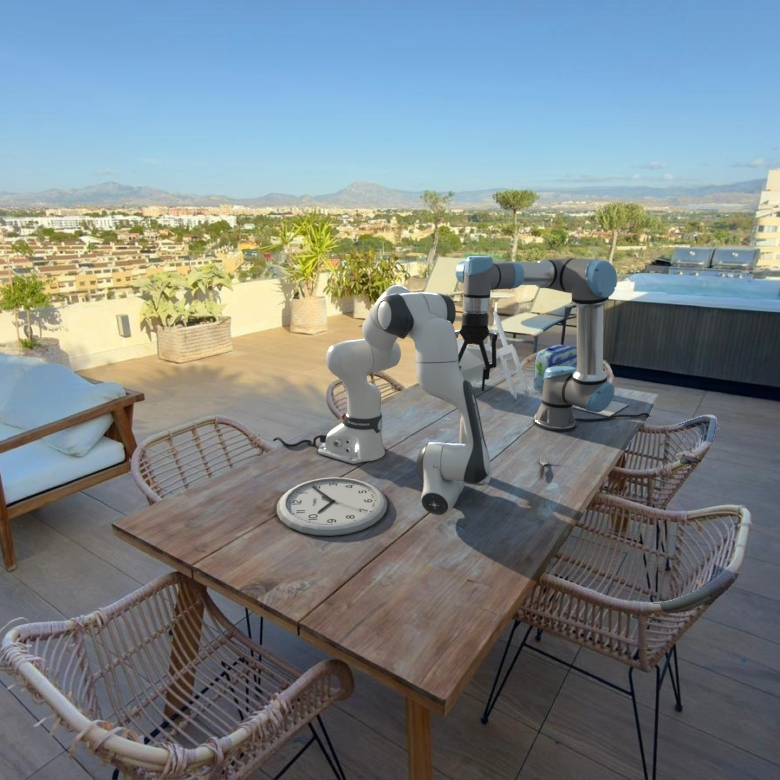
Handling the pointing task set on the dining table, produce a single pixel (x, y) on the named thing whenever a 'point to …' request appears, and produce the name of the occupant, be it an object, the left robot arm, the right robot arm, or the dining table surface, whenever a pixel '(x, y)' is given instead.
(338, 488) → the wall clock
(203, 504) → the dining table surface
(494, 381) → the dining table surface
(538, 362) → the lunch box
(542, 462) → the fork
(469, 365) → the white plastic object
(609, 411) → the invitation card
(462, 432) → the bottle
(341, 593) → the dining table surface
